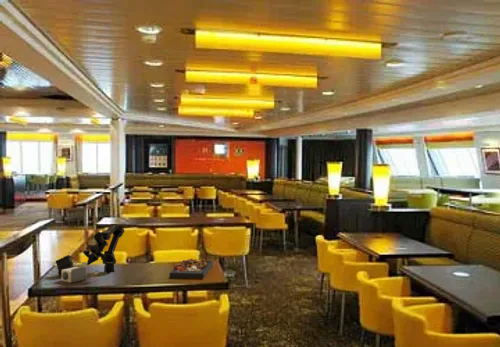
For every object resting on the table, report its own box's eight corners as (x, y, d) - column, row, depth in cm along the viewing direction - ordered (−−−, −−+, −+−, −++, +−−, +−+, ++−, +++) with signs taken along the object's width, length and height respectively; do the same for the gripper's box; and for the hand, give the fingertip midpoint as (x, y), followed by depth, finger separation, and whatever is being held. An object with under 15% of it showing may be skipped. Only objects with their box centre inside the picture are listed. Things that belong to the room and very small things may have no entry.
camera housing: (76, 277, 359) (76, 266, 358) (85, 279, 353) (85, 268, 353) (60, 280, 348) (59, 270, 347) (69, 282, 342) (69, 272, 342)
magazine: (75, 274, 361) (67, 255, 361) (60, 281, 363) (52, 262, 364) (78, 273, 364) (70, 254, 365) (63, 280, 367) (55, 261, 368)
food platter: (203, 279, 355) (203, 265, 355) (169, 278, 357) (169, 264, 357) (213, 266, 400) (213, 253, 400) (183, 265, 402) (182, 253, 402)
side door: (83, 278, 353) (83, 262, 353) (86, 279, 351) (86, 262, 351) (70, 281, 344) (70, 264, 343) (73, 282, 342) (73, 265, 342)
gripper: (85, 239, 362) (72, 256, 354) (102, 241, 352) (89, 259, 343) (93, 248, 369) (81, 265, 360) (110, 251, 359) (98, 268, 350)
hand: (87, 264), depth 353 cm, fingers closed
